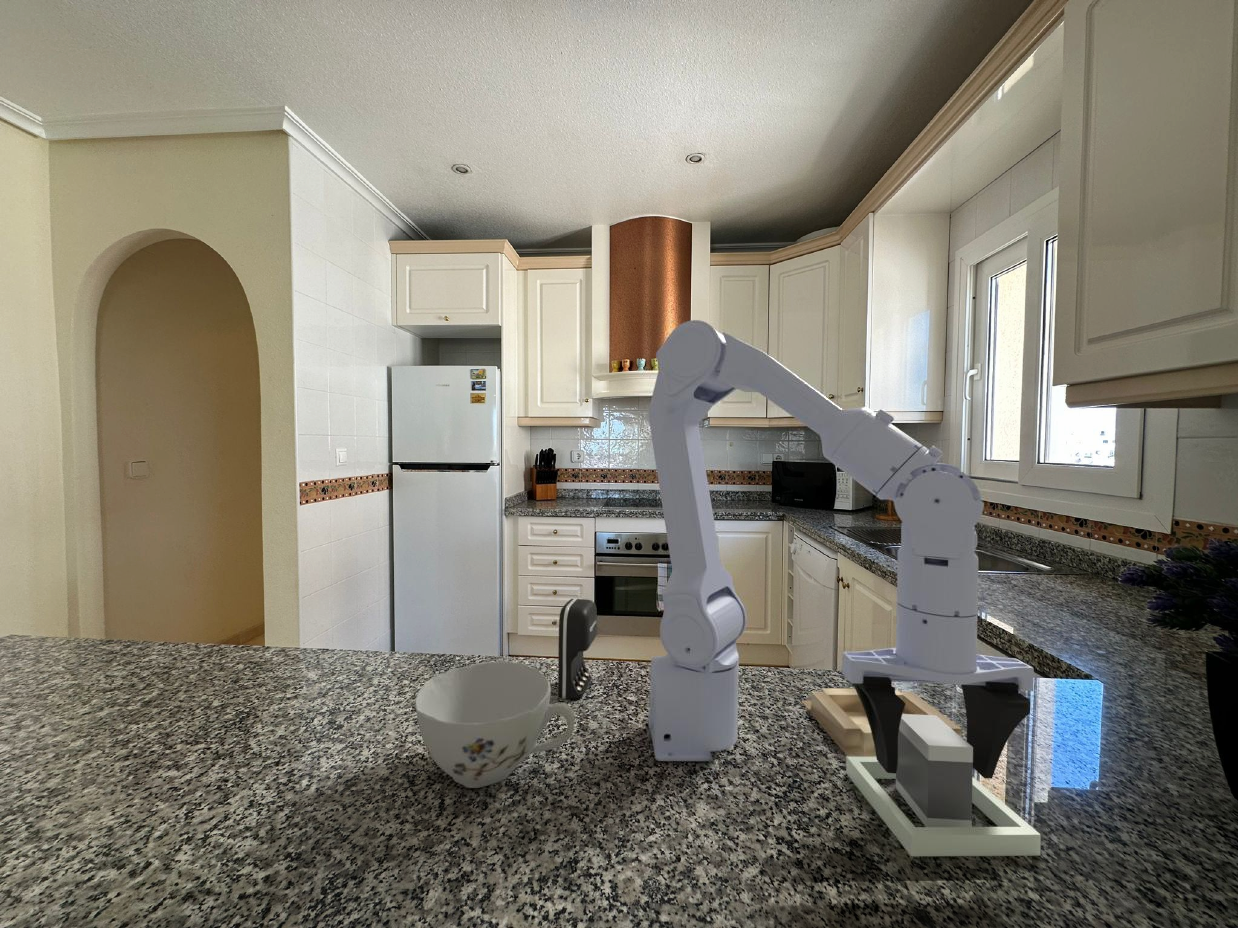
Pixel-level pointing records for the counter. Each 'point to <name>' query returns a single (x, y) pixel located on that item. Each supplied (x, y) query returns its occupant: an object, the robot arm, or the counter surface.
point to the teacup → (487, 719)
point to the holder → (859, 718)
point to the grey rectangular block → (935, 771)
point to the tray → (947, 841)
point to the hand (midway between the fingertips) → (932, 768)
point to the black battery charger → (575, 646)
